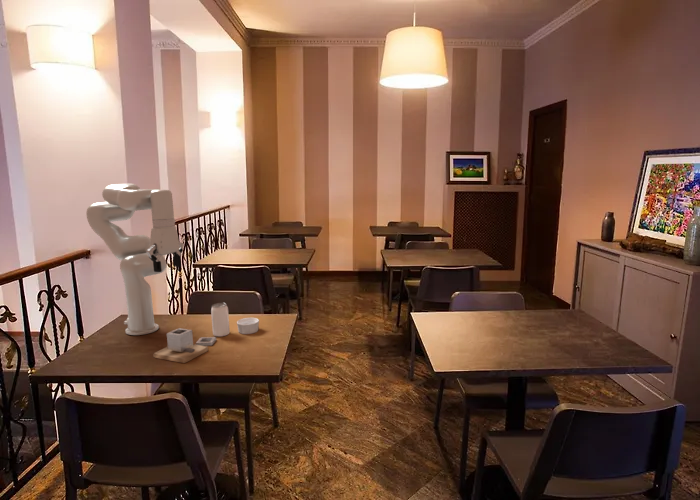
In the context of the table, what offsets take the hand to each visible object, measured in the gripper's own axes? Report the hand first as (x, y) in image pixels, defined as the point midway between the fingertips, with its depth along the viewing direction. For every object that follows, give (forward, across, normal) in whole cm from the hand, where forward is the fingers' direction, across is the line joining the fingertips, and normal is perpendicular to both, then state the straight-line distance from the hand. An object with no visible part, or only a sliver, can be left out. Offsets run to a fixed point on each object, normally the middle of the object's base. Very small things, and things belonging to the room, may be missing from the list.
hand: (167, 269), depth 178 cm
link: (+26, +9, +12) cm, 30 cm away
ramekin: (+29, -20, +20) cm, 40 cm away
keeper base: (+28, +9, +12) cm, 32 cm away
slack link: (+28, -3, +13) cm, 31 cm away
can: (+28, -13, +12) cm, 34 cm away
